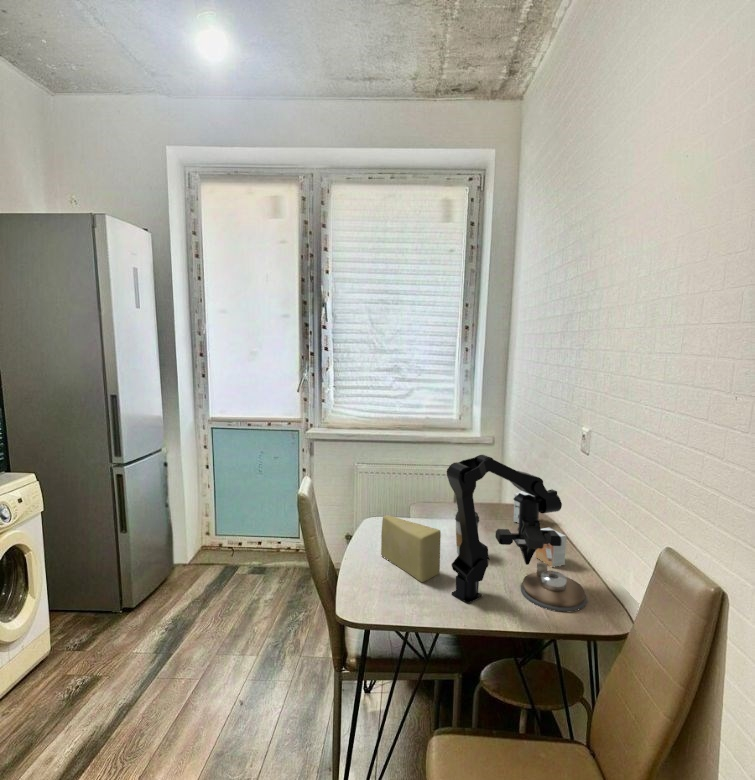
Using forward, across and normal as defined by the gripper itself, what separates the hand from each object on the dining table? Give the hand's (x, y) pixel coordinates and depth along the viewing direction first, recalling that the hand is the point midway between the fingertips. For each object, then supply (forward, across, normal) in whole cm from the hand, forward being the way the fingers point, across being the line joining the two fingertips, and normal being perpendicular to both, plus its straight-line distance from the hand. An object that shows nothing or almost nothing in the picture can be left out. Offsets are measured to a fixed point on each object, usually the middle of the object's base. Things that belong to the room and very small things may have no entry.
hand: (526, 564), depth 137 cm
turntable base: (+6, +6, -6) cm, 11 cm away
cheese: (+6, -37, +9) cm, 39 cm away
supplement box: (+6, +15, +51) cm, 53 cm away
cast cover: (+3, +6, -6) cm, 9 cm away
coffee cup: (+6, -15, +19) cm, 25 cm away
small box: (+6, +13, +15) cm, 21 cm away
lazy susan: (+5, +6, -6) cm, 10 cm away
